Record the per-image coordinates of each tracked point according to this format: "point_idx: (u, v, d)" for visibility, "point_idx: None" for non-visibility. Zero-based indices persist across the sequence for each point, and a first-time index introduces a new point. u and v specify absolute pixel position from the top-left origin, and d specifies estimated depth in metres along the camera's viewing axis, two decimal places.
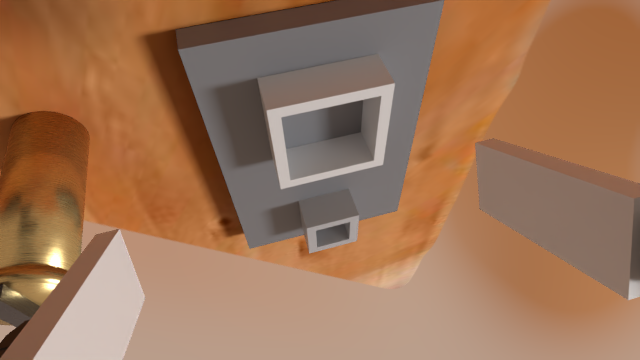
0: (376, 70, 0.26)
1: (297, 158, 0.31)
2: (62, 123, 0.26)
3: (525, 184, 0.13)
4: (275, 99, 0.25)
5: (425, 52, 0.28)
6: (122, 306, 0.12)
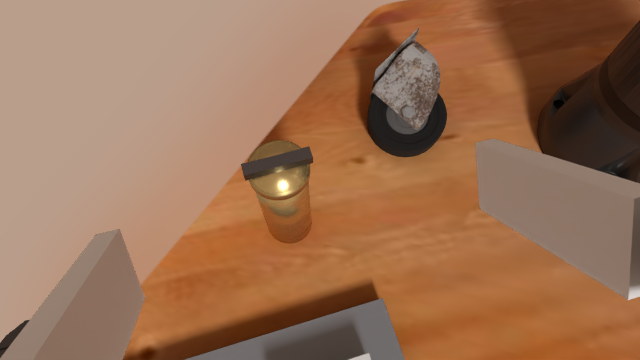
0: None
1: None
2: (308, 229, 0.41)
3: (525, 184, 0.13)
4: None
5: None
6: (122, 306, 0.12)
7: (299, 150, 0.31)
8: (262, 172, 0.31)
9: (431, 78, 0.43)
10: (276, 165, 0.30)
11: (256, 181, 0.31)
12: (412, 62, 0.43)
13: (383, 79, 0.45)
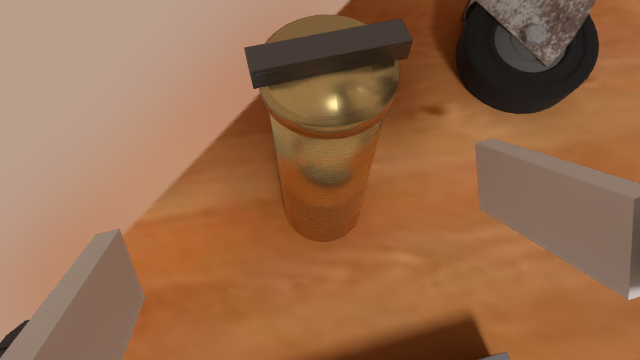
0: None
1: None
2: (356, 217, 0.23)
3: (525, 184, 0.13)
4: None
5: None
6: (122, 306, 0.12)
7: (380, 25, 0.13)
8: (295, 69, 0.13)
9: None
10: (329, 53, 0.13)
11: (279, 92, 0.13)
12: None
13: None
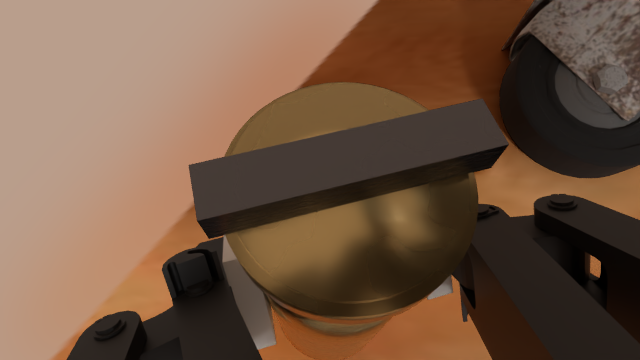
0: None
1: None
2: None
3: None
4: None
5: None
6: None
7: (444, 113, 0.07)
8: (288, 206, 0.07)
9: None
10: (352, 176, 0.07)
11: (258, 245, 0.07)
12: None
13: (554, 6, 0.21)
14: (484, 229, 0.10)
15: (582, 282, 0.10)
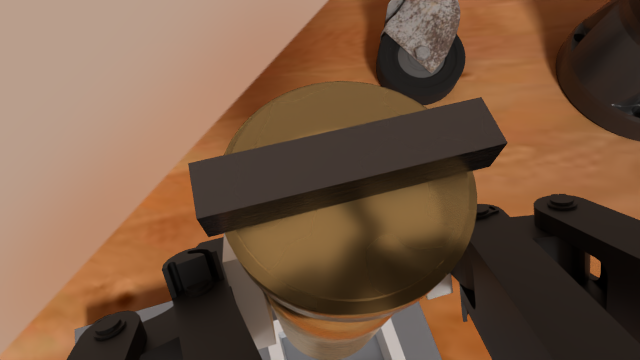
0: None
1: (283, 351, 0.28)
2: None
3: None
4: None
5: None
6: None
7: (443, 112, 0.07)
8: (287, 204, 0.07)
9: (450, 15, 0.38)
10: (351, 175, 0.07)
11: (257, 243, 0.07)
12: None
13: (396, 17, 0.40)
14: (484, 229, 0.10)
15: (582, 282, 0.10)
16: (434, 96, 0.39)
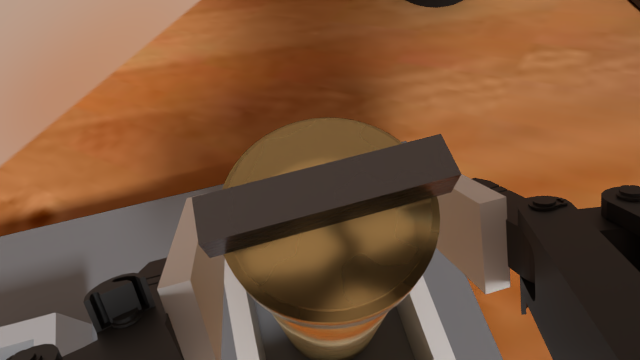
0: None
1: None
2: None
3: None
4: None
5: None
6: (217, 257, 0.14)
7: (407, 148, 0.08)
8: (274, 231, 0.08)
9: None
10: (327, 205, 0.08)
11: (251, 263, 0.08)
12: None
13: None
14: (549, 221, 0.09)
15: None
16: None
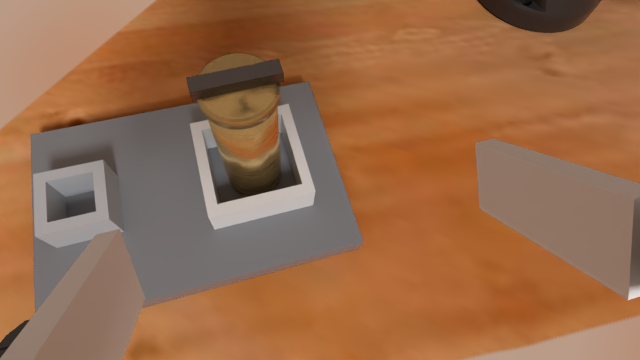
0: None
1: (207, 151, 0.34)
2: (277, 180, 0.34)
3: (525, 184, 0.13)
4: None
5: (316, 247, 0.32)
6: (122, 306, 0.12)
7: (265, 63, 0.23)
8: (216, 90, 0.23)
9: None
10: (234, 81, 0.23)
11: (207, 102, 0.23)
12: None
13: None
14: None
15: None
16: None
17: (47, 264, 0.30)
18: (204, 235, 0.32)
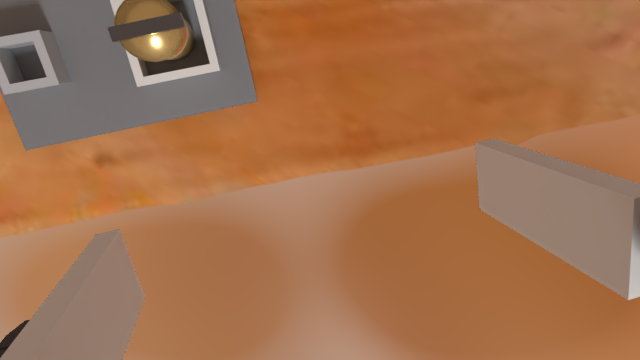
0: None
1: None
2: (191, 49, 0.42)
3: (525, 184, 0.13)
4: None
5: (222, 103, 0.45)
6: (122, 306, 0.12)
7: (170, 16, 0.30)
8: (132, 38, 0.30)
9: None
10: (146, 33, 0.30)
11: (127, 44, 0.31)
12: None
13: None
14: None
15: None
16: None
17: (17, 104, 0.41)
18: (135, 88, 0.43)
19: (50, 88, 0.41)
